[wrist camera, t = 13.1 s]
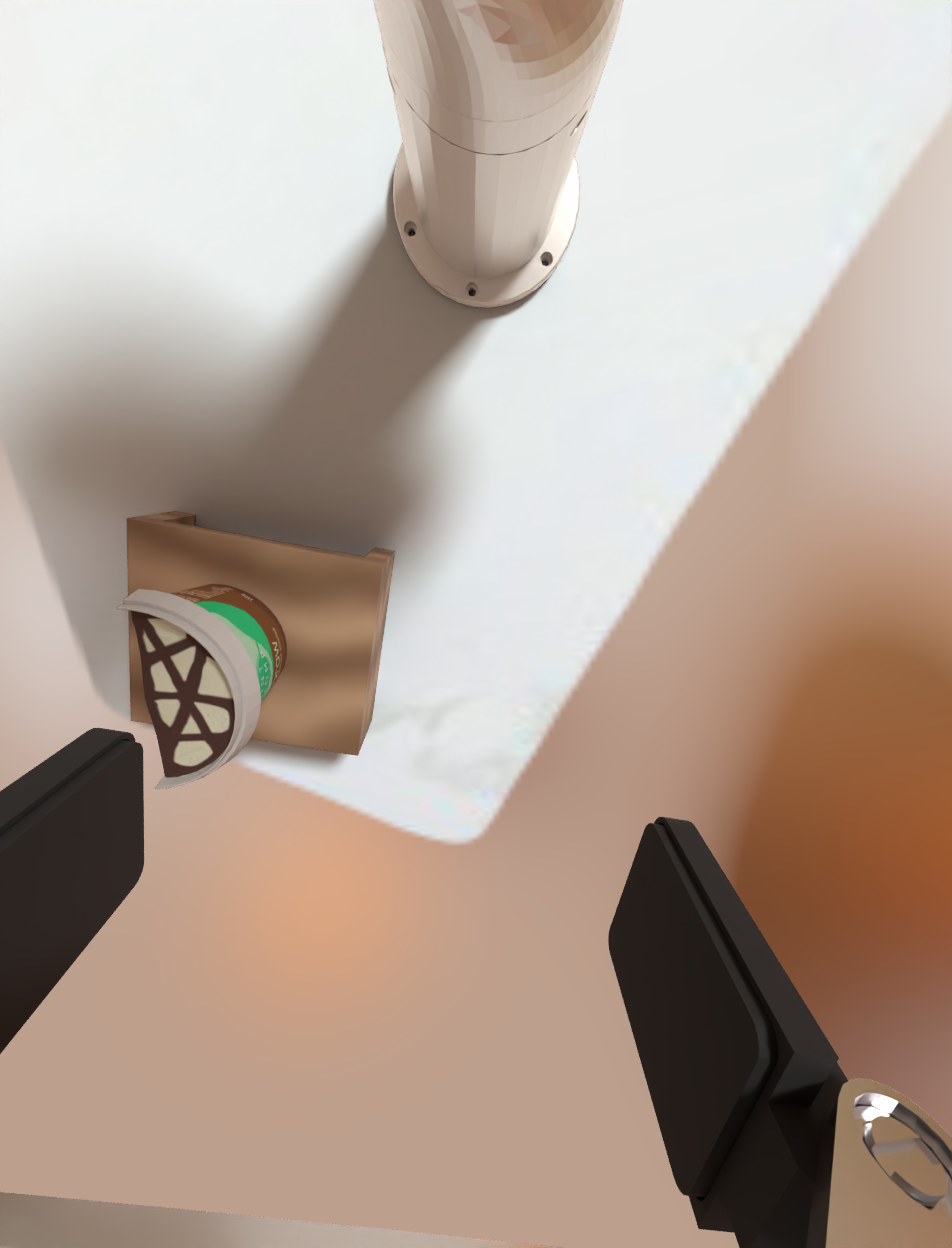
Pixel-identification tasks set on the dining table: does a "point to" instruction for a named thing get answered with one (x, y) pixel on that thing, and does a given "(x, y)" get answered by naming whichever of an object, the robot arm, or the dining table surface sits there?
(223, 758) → the food container
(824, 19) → the dining table surface
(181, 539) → the walnut shelf
